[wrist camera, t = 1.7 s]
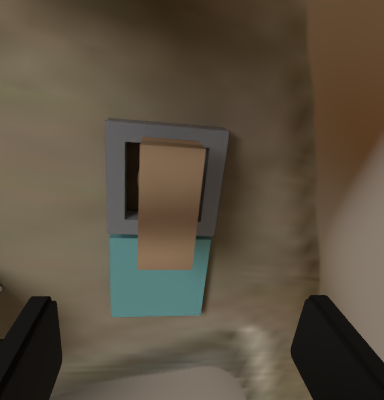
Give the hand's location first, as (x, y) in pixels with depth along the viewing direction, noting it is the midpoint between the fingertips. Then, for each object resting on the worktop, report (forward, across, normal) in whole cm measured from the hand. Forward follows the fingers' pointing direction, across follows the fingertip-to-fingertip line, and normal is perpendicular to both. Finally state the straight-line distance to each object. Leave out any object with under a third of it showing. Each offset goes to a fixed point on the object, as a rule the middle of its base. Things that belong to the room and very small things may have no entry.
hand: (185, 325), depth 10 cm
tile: (+17, 0, +10) cm, 20 cm away
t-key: (+17, 0, -1) cm, 17 cm away
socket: (+17, 0, -1) cm, 17 cm away
